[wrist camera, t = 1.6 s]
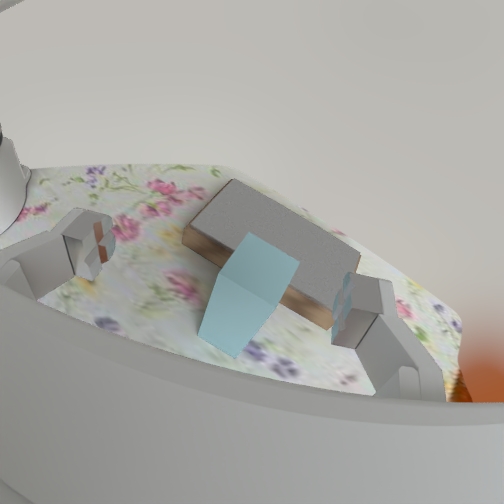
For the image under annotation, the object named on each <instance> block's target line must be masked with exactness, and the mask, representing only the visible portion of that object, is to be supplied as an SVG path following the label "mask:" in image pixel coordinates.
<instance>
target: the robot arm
mask: <svg viewBox="0 0 504 504" xmlns="http://www.w3.org/2000/svg"><path fill="white" fill-rule="evenodd" d="M22 1H24V0H0V12H2V11H4V10H6V9H8V8H10V7H12V6H14V5H16V4H18V3H20V2H22ZM30 176H31V172H30V170H29V168H28V167H26V166H24V165H21V164H20V162H19V160H18V157H17V154H16V151H15V148H14V145H13V142H12V140H11V139H8V138H6V137H3V136H2V131H1V125H0V234H1V233H3V232H4V231H5V230H6V229H7V228H8V227H9V226H10V225H11V224H12V223H13V222H14V221H15V219H16V218H17V217H18V215H19V213H20V212H21V210H22V208H23V205H24V202H25V198H26V184H27V183H28V181H29V178H30ZM112 226H113V223H112V218H111V217H110V216H109V215H105V214H101V213H97V212H93V211H90V210H85V209H81V208H74V209H73V210H71V211H70V212H69V213H68V214H67V215H66V216H65V217H64V218H63V219H62V220H61V221H60V222H59V223H58V224H57V225H56V226H55V227H54V228H53V229H52V230H50V231H45V232H42V233H40V234H37V235H35V236H32V237H30V238H28V239H25V240H23V241H20V242H18V243H16V244H13V245H11V246H9V247H7V248H4V249H2V250H0V504H504V403H457V402H446V394H445V387H444V380H443V374H442V370H441V368H440V367H439V366H438V364H437V363H436V362H435V360H434V359H433V358H432V356H431V355H430V354H429V352H428V351H427V350H426V349H425V347H424V346H423V345H422V343H421V342H420V341H419V339H418V338H417V337H416V336H415V334H414V333H413V332H412V331H411V329H410V328H409V327H408V326H407V324H406V323H405V322H404V321H403V319H401V318H398V313H397V307H396V301H395V296H394V290H393V285H392V282H391V281H389V280H385V279H380V278H373V277H369V276H365V275H360V274H356V273H352V272H347V274H346V275H345V277H344V279H343V288H341V289H340V290H338V293H337V295H336V297H335V301H334V304H333V311H332V318H333V319H334V321H335V323H334V325H333V327H332V337H331V344H333V345H337V346H342V347H346V348H351V349H356V350H355V352H356V354H357V355H358V357H359V359H360V361H361V363H362V365H363V367H364V369H365V371H366V373H367V375H368V377H369V379H370V381H371V382H372V384H373V386H374V388H375V390H376V393H375V394H374V395H373V396H369V395H361V394H354V393H347V392H340V391H334V390H327V389H321V388H316V387H310V386H304V385H299V384H294V383H289V382H284V381H279V380H274V379H270V378H265V377H260V376H256V375H252V374H247V373H243V372H239V371H235V370H231V369H227V368H223V367H219V366H216V365H212V364H208V363H205V362H201V361H197V360H194V359H191V358H187V357H184V356H180V355H177V354H174V353H171V352H167V351H164V350H161V349H158V348H155V347H152V346H149V345H146V344H143V343H140V342H137V341H134V340H131V339H129V338H126V337H123V336H120V335H118V334H115V333H112V332H109V331H107V330H104V329H102V328H99V327H96V326H94V325H91V324H89V323H86V322H84V321H81V320H79V319H76V318H74V317H72V316H69V315H67V314H65V313H62V312H60V311H58V310H55V309H53V308H51V307H49V306H46V305H44V304H42V303H40V302H38V301H37V300H38V299H40V298H41V297H43V296H44V295H46V294H47V293H49V292H51V291H52V290H54V289H55V288H57V287H59V286H60V285H62V284H63V283H65V282H67V281H68V280H70V279H71V278H73V277H74V275H75V276H78V277H81V278H84V279H88V280H91V281H93V280H94V279H95V278H96V276H97V275H98V274H99V272H100V271H101V270H102V263H104V262H107V261H108V260H109V259H110V258H111V256H112V255H113V252H114V249H115V236H114V234H113V233H112V232H111V230H110V229H111V228H112Z"/></svg>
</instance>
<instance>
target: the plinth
mask: <svg viewBox="0 0 504 504" xmlns="http://www.w3.org/2000/svg"><path fill="white" fill-rule="evenodd" d="M248 232H250V233H252V234H254V235H255V236H257V237H259V238H260V239H262V240H264V241H265V242H267V243H269V244H270V245H272V246H274V247H276V248H277V249H279V250H281V251H282V252H284V253H286V254H287V255H289V256H291V257H292V258H294V259H296V260H297V261H299V262H300V264H299V266H298V268H297V269H296V271H295V273H294V275H293V277H292V279H291V281H290V283H289V285H288V287H287V288H286V290H285V292H284V294H283V296H282V298H281V300H280V301H279V303H281V304H283V305H284V306H286V307H288V308H289V309H291V310H293V311H294V312H296V313H298V314H300V315H301V316H303V317H305V318H306V319H308V320H310V321H312V322H313V323H315V324H317V325H318V326H320V327H322V328H324V329H325V330H328V329H329V328H330V327H332V326H333V325H334V323H335V321H334V319H333V318H332V311H333V304H334V301H335V297H336V295H337V293H338V290H340V289H341V288H343V279H344V277H345V275H346V274H347V272H352V273H356V270H357V267H358V264H359V261H360V258H361V255H360V252H358V251H357V250H355V249H354V248H352V247H350V246H349V245H347V244H346V243H344V242H342V241H341V240H339V239H338V238H336V237H334V236H333V235H331V234H329V233H328V232H326V231H324V230H323V229H321V228H319V227H318V226H316V225H314V224H313V223H311V222H309V221H308V220H306V219H304V218H303V217H301V216H299V215H298V214H296V213H294V212H293V211H291V210H289V209H287V208H286V207H284V206H282V205H280V204H279V203H277V202H275V201H274V200H272V199H270V198H268V197H267V196H265V195H263V194H261V193H259V192H258V191H256V190H254V189H252V188H251V187H249V186H247V185H245V184H243V183H242V182H240V181H238V180H236V179H231V180H230V181H229V182H228V183H227V184H226V185H225V186H224V187H223V188H222V189H221V190H220V191H219V192H218V193H217V194H216V195H215V196H214V197H213V198H212V199H211V201H210V202H209V203H208V204H207V205H206V206H205V207H204V208H203V209H202V210H201V211H200V212H199V213H198V214H197V215H196V216H195V217H194V218H193V219H192V221H191V222H190V223H189V224H188V225H187V226H186V227H185V228H184V233H183V240H182V244H184V245H185V246H187V247H189V248H190V249H192V250H193V251H195V252H197V253H198V254H200V255H201V256H203V257H205V258H206V259H208V260H210V261H211V262H213V263H214V264H216V265H218V266H219V267H221V268H223V266H224V265H225V264H226V262H227V261H228V259H229V258H230V257H231V255H232V254H233V253H234V251H235V250H236V249H237V247H238V246H239V244H240V243H241V242H242V240H243V239H244V238H245V236H246V235H247V234H248Z"/></svg>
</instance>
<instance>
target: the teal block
mask: <svg viewBox="0 0 504 504" xmlns="http://www.w3.org/2000/svg"><path fill="white" fill-rule="evenodd" d="M299 264H300V262H299V261H297V260H296V259H294V258H292V257H291V256H289V255H287V254H286V253H284V252H282V251H281V250H279V249H277V248H276V247H274V246H272V245H270V244H269V243H267V242H265V241H264V240H262V239H260V238H259V237H257V236H255V235H254V234H252V233H250V232H248V234H247V235H246V236H245V238H244V239H243V240H242V242H241V243H240V244H239V246H238V247H237V249H236V250H235V251H234V253H233V254H232V255H231V257H230V258H229V259H228V261H227V262H226V264H225V265H224V266H223V268H222V269H221V270H220V272H219V273H218V276H217V279H216V282H215V285H214V288H213V291H212V294H211V297H210V300H209V303H208V306H207V308H206V311H205V314H204V317H203V320H202V323H201V326H200V329H199V332H198V335H197V336H199V337H201V338H202V339H204V340H205V341H207V342H209V343H210V344H212V345H213V346H215V347H217V348H218V349H220V350H222V351H223V352H225V353H227V354H228V355H230V356H232V357H233V358H235V359H236V357H237V356H238V355H239V354H240V352H241V351H242V350H243V349H244V347H245V346H246V345H247V344H248V343H249V341H250V340H251V339H252V338H253V336H254V335H255V334H256V333H257V331H258V330H259V329H260V328H261V326H262V325H263V324H264V322H265V321H266V320H267V319H268V317H269V316H270V315H271V314H272V312H273V311H274V310H275V308H276V307H277V305H278V303H279V301H280V300H281V298H282V296H283V294H284V292H285V290H286V288H287V287H288V285H289V283H290V281H291V279H292V277H293V275H294V273H295V271H296V269H297V268H298V266H299Z"/></svg>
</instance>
